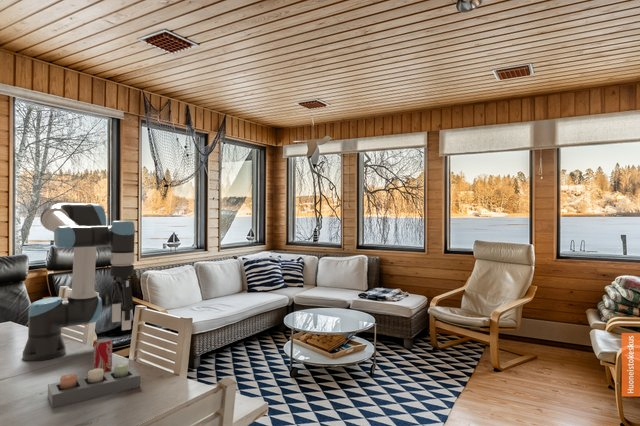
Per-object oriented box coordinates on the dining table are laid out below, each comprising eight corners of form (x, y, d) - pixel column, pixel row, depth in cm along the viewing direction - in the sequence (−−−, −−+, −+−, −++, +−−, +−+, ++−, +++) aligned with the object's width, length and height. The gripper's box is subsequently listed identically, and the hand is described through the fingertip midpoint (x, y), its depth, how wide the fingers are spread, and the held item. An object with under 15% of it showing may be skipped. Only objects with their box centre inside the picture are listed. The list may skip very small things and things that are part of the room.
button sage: (112, 373, 144) (112, 365, 144) (126, 370, 147) (126, 362, 147) (115, 377, 141) (115, 369, 141) (129, 374, 144) (130, 366, 144)
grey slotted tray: (47, 396, 135) (48, 384, 135) (131, 377, 151) (132, 366, 151) (52, 408, 127) (52, 395, 127) (140, 386, 144) (140, 375, 144)
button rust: (58, 385, 134) (59, 375, 134) (75, 381, 137) (75, 372, 137) (61, 389, 131) (61, 380, 131) (77, 386, 134) (77, 377, 134)
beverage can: (103, 375, 153) (104, 343, 153) (89, 373, 154) (90, 341, 154) (115, 369, 159) (116, 338, 159) (101, 367, 160) (102, 337, 160)
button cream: (86, 379, 139) (86, 370, 139) (101, 376, 142) (101, 367, 142) (89, 383, 136) (89, 374, 136) (104, 380, 139) (105, 371, 139)
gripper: (102, 262, 151) (101, 320, 151) (120, 268, 132) (118, 335, 132) (124, 260, 156) (123, 317, 156) (144, 267, 137) (143, 331, 137)
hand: (121, 325), depth 144 cm, fingers open, 12 cm apart
